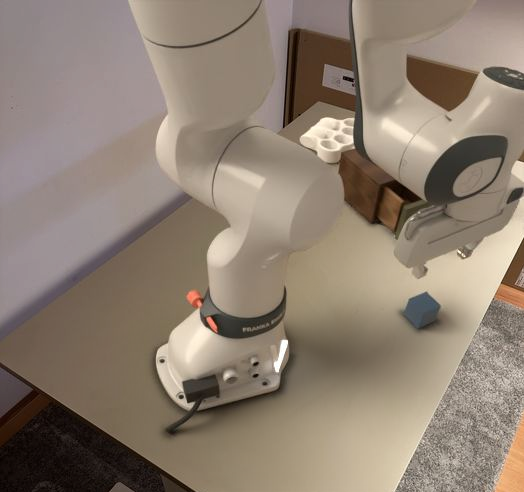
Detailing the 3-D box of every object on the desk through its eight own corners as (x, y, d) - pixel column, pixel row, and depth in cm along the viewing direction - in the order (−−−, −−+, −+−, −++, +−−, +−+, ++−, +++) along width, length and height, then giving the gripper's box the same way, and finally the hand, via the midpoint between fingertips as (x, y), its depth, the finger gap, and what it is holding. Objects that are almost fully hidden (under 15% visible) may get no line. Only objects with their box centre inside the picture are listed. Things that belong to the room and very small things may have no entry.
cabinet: (416, 207, 112) (428, 168, 105) (370, 223, 108) (379, 184, 101) (379, 176, 119) (387, 138, 112) (335, 191, 115) (341, 152, 108)
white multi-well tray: (326, 121, 135) (376, 137, 131) (292, 151, 126) (344, 169, 121) (328, 109, 133) (379, 125, 128) (293, 138, 123) (346, 156, 118)
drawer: (454, 236, 104) (467, 204, 98) (411, 253, 101) (421, 221, 95) (403, 194, 114) (411, 163, 107) (362, 208, 110) (368, 176, 104)
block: (417, 328, 90) (423, 313, 86) (403, 314, 92) (408, 298, 89) (434, 321, 91) (441, 305, 88) (420, 306, 93) (426, 291, 90)
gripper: (425, 228, 66) (402, 300, 77) (537, 183, 72) (500, 257, 83) (395, 202, 69) (377, 275, 80) (504, 162, 75) (473, 235, 86)
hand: (441, 265), depth 82 cm, fingers open, 8 cm apart
